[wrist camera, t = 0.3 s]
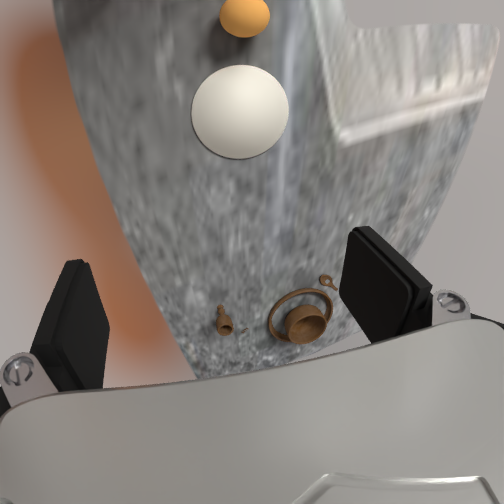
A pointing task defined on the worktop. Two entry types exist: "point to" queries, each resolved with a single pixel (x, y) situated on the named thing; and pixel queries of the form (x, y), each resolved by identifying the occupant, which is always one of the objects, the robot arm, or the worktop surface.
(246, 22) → the ball
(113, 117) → the worktop surface
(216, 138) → the disc
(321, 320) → the place setting
